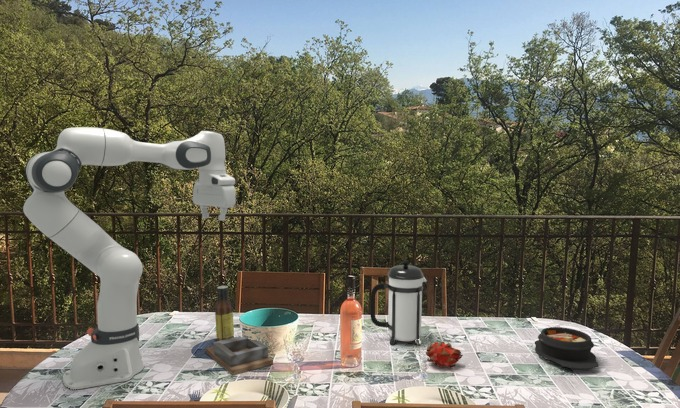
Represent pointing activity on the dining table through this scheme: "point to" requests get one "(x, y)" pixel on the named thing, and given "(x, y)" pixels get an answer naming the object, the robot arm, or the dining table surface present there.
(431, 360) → the dragon fruit
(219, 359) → the board
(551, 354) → the casserole
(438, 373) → the dining table surface
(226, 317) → the sauce bottle
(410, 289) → the coffee press
